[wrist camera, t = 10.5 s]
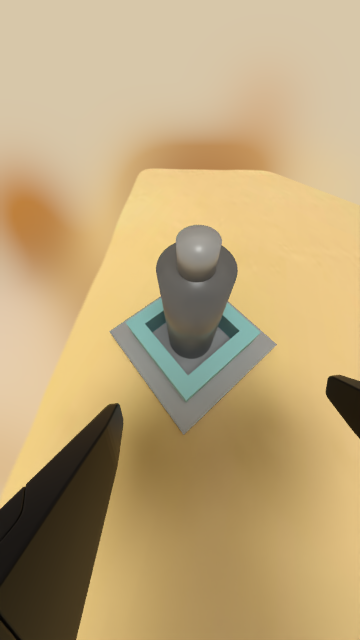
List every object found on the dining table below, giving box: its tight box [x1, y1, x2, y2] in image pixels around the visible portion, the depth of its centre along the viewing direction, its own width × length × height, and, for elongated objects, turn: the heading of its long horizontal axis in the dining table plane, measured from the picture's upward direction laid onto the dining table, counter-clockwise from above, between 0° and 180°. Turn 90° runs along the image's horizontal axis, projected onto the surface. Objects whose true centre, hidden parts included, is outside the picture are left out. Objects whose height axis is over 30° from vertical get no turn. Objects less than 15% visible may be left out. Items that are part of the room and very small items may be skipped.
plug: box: [156, 225, 238, 359], centre depth 16 cm, size 5×5×14 cm
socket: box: [109, 297, 277, 435], centre depth 22 cm, size 14×14×4 cm
